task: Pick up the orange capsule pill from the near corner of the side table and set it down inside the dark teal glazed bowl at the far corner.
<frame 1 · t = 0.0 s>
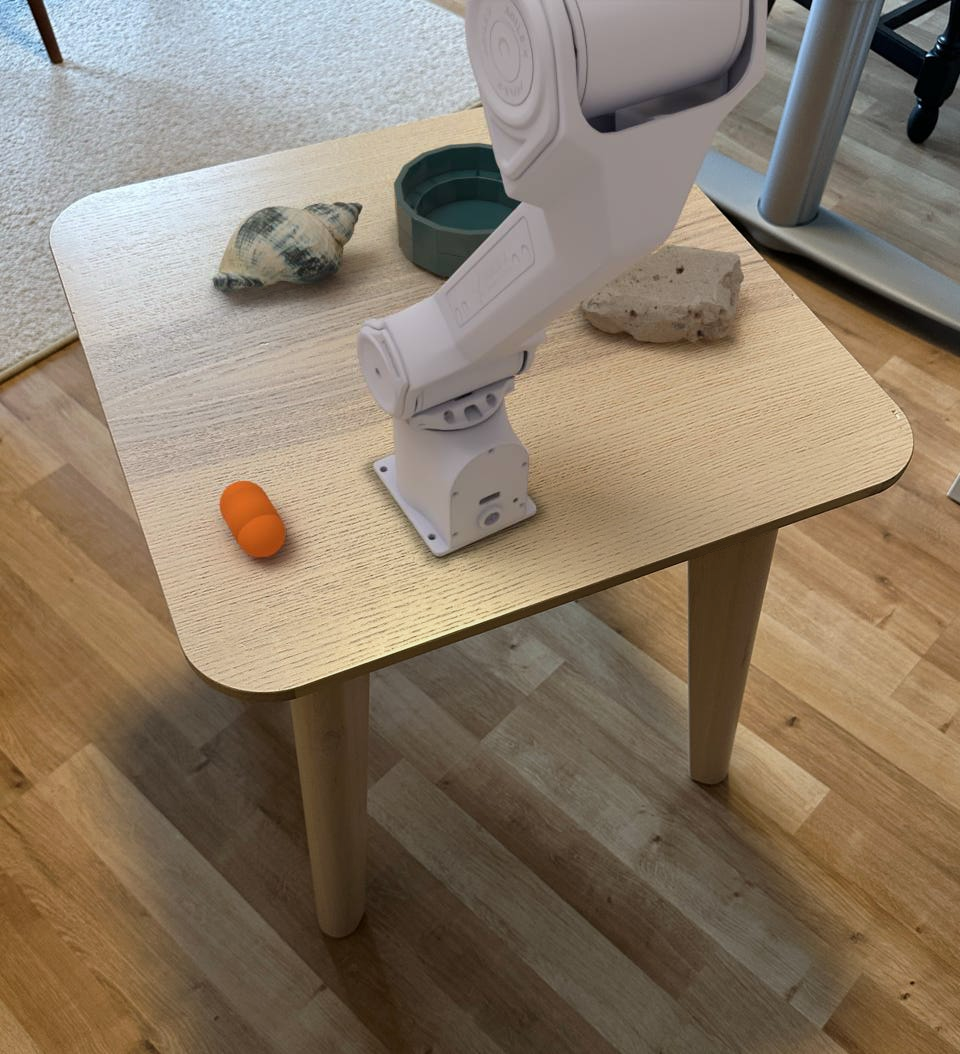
orange capsule pill: (255, 533, 72), on the table
bowl: (473, 237, 94), on the table
stone: (657, 313, 88), on the table
seashell: (292, 279, 90), on the table
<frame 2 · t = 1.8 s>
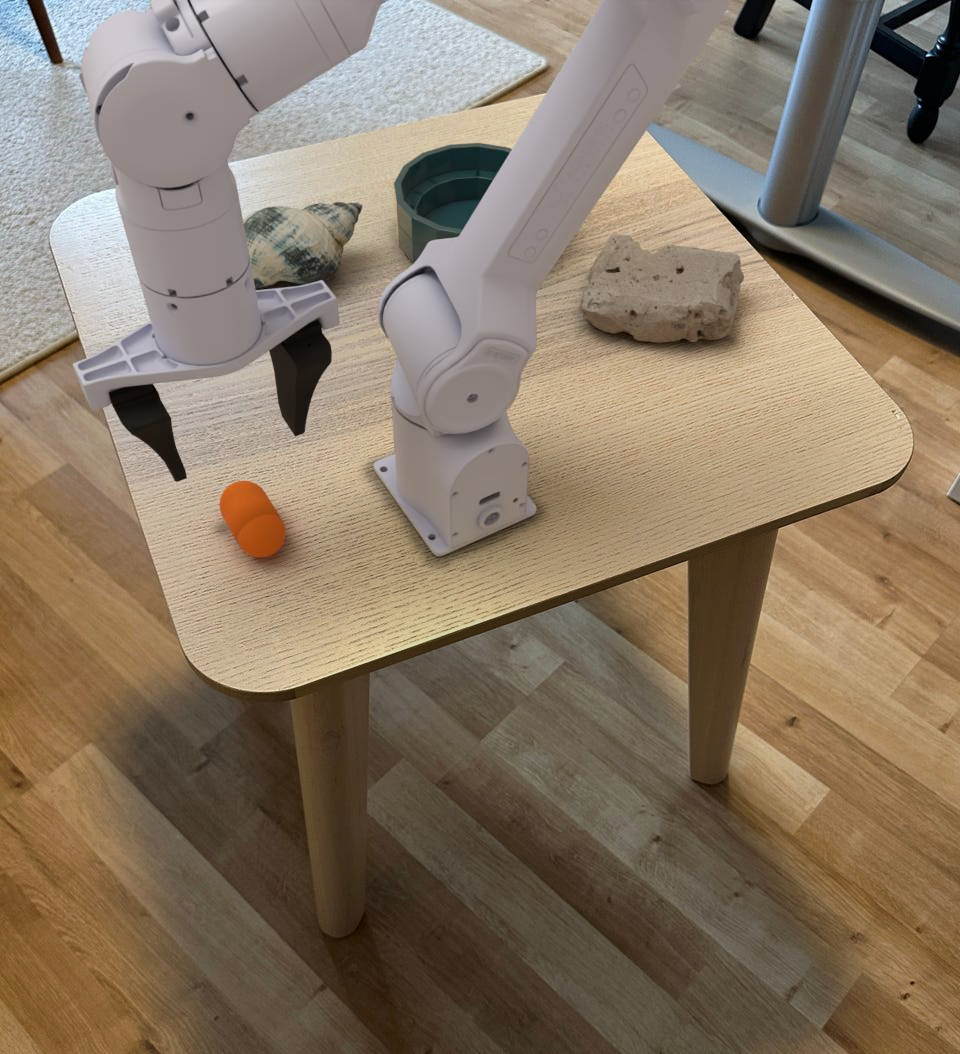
hand: (235, 446, 66), 8 cm above the table, tool pointing down, fingers open, 7 cm apart
nothing on the table moved.
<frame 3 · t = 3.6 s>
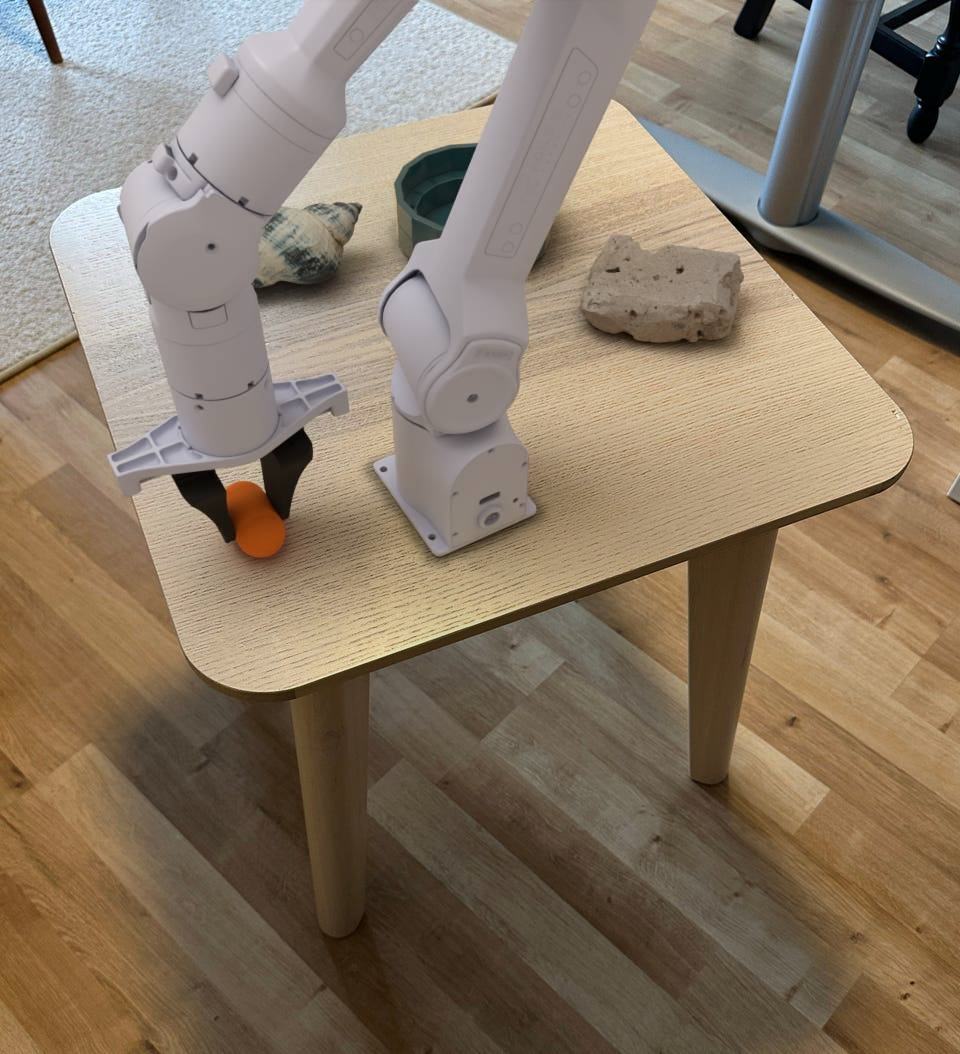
hand: (253, 520, 71), 1 cm above the table, tool pointing down, fingers closed on orange capsule pill, 3 cm apart
orange capsule pill: (255, 534, 72), on the table, touching gripper
everything else where it was.
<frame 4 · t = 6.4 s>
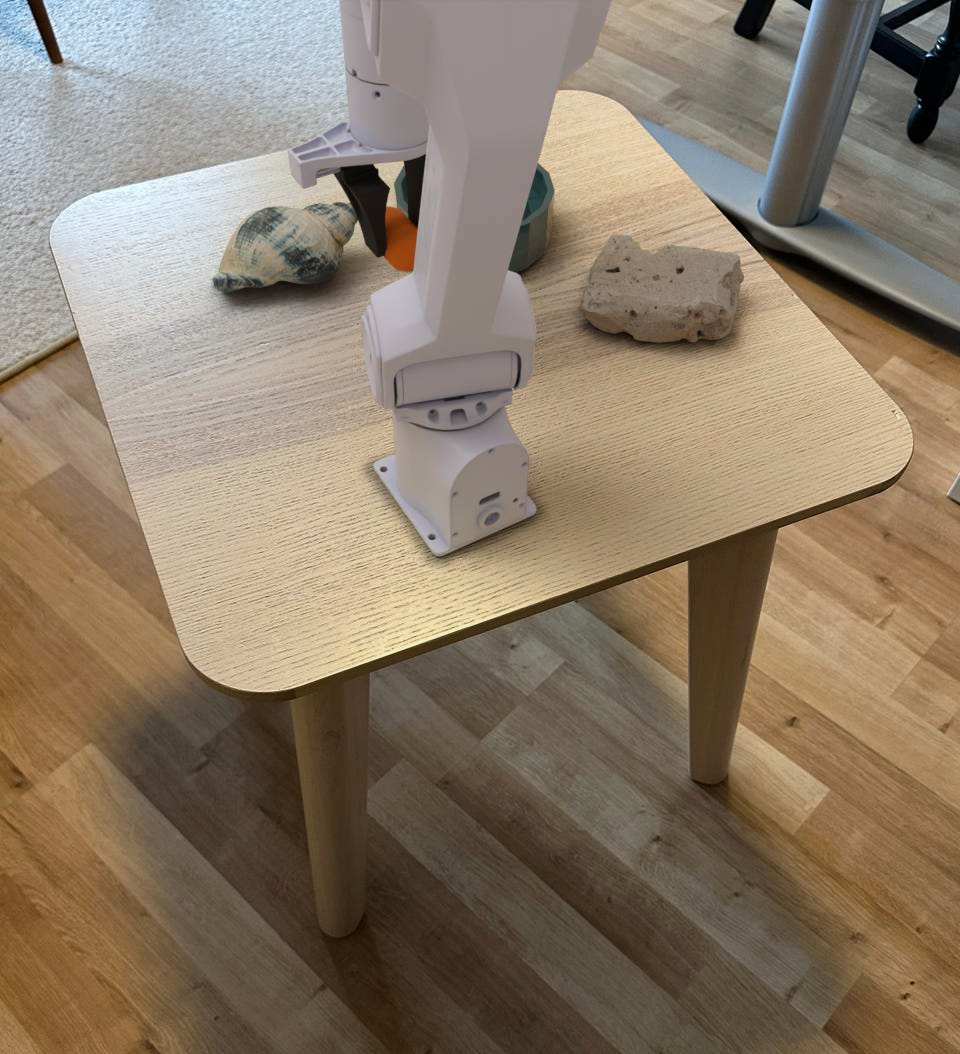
hand: (398, 241, 79), 8 cm above the table, tool pointing down, fingers closed on orange capsule pill, 3 cm apart
orange capsule pill: (398, 257, 80), point 7 cm above the table, touching gripper
everything else where it was.
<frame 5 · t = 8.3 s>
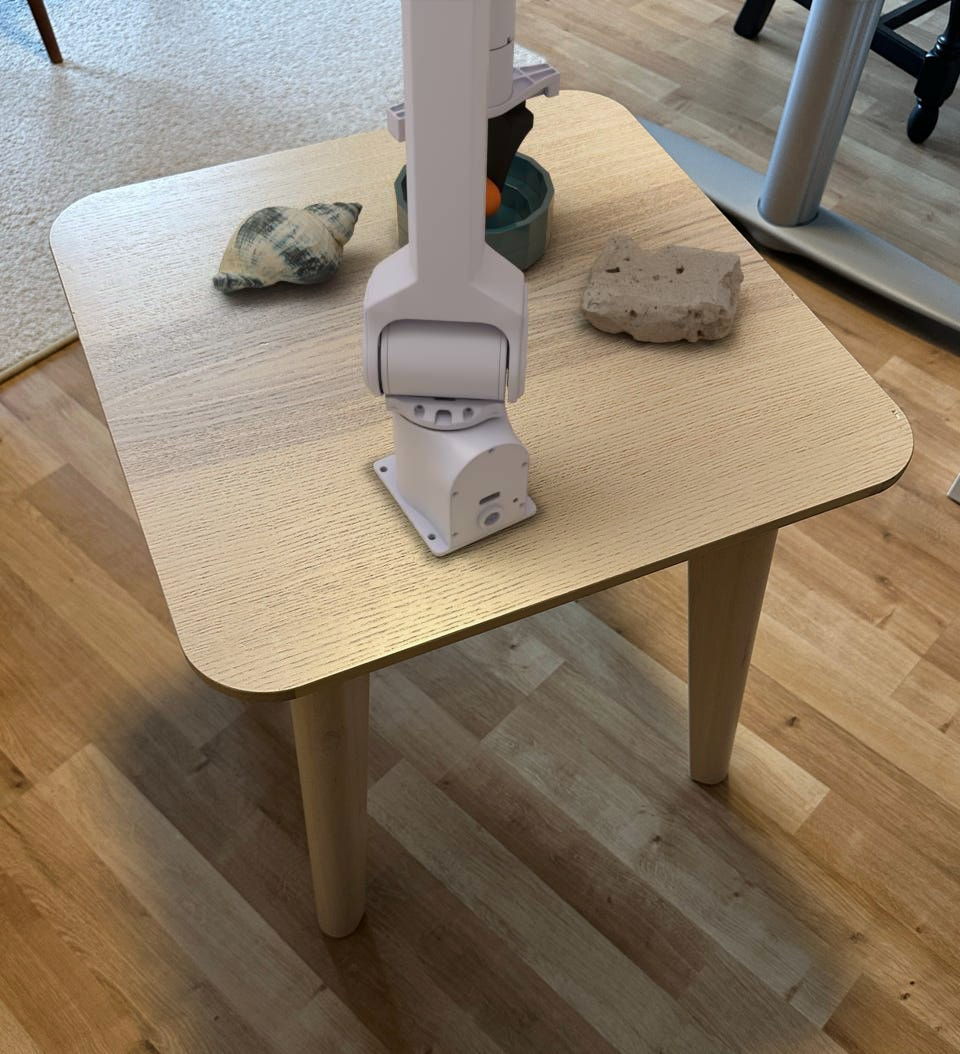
hand: (474, 193, 90), 4 cm above the table, tool pointing down, fingers closed on orange capsule pill, 3 cm apart
orange capsule pill: (472, 207, 92), point 3 cm above the table, touching gripper
everything else where it was.
when the fingers open (2 cm above the table, at t = 9.4 s): orange capsule pill stays where it is, resting on bowl.
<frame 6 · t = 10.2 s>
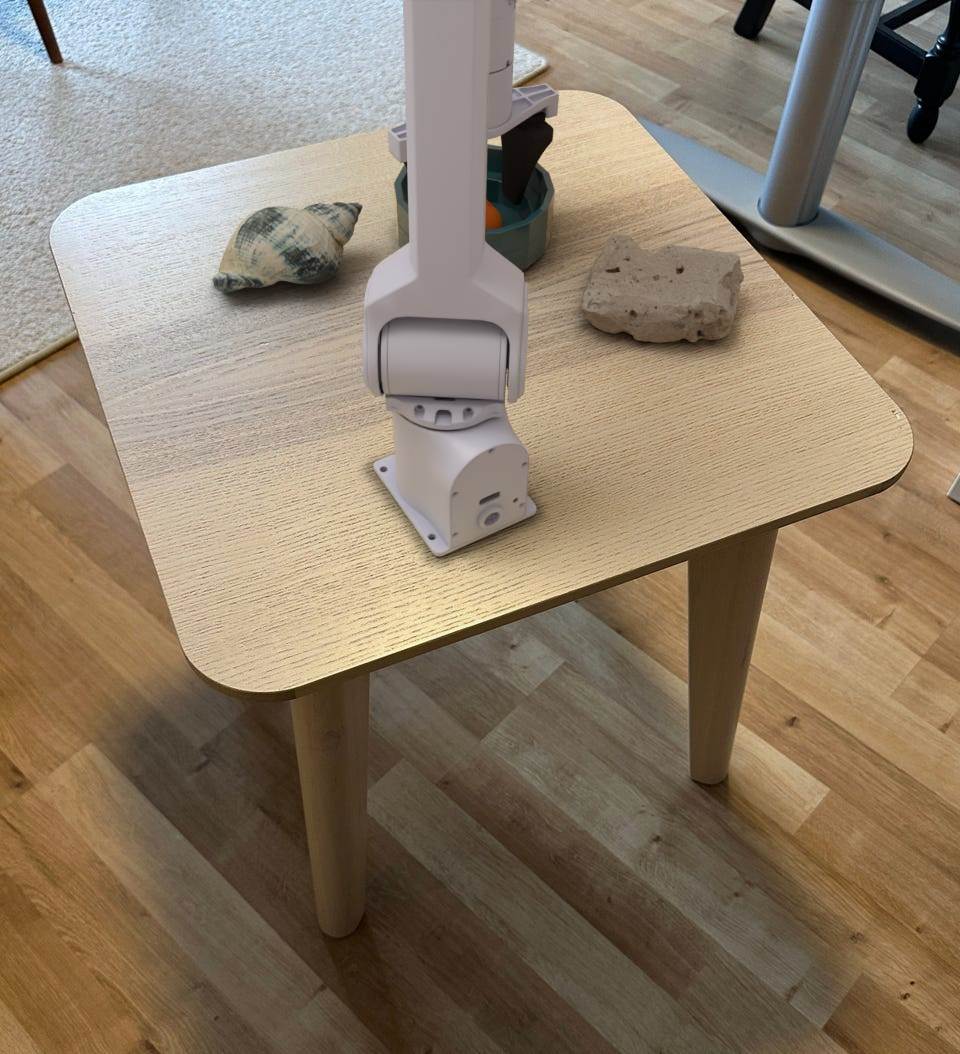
hand: (473, 211, 92), 3 cm above the table, tool pointing down, fingers open, 7 cm apart
orange capsule pill: (472, 231, 93), point 1 cm above the table, tilted 8°, touching bowl
everything else where it was.
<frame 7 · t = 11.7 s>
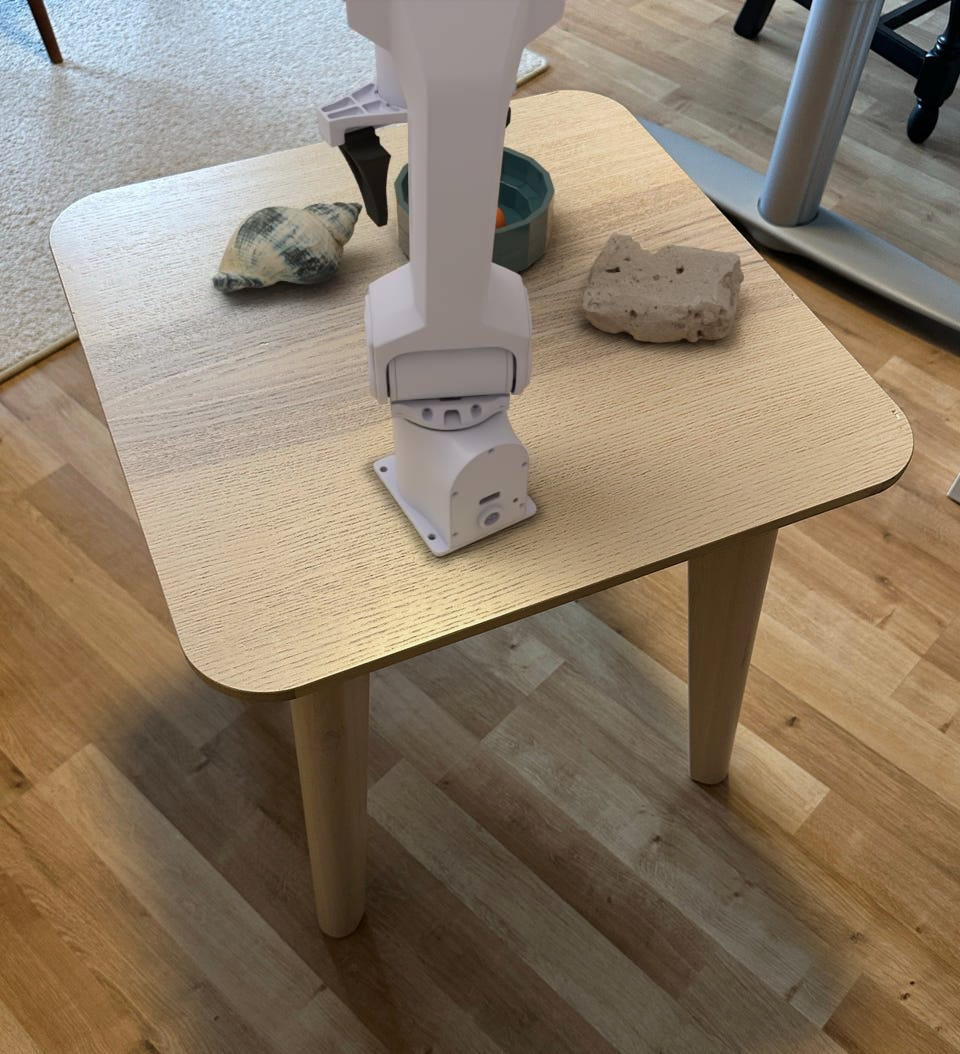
hand: (422, 204, 81), 9 cm above the table, tool pointing down, fingers open, 7 cm apart
orange capsule pill: (472, 230, 93), point 1 cm above the table, tilted 18°, touching bowl
everything else where it was.
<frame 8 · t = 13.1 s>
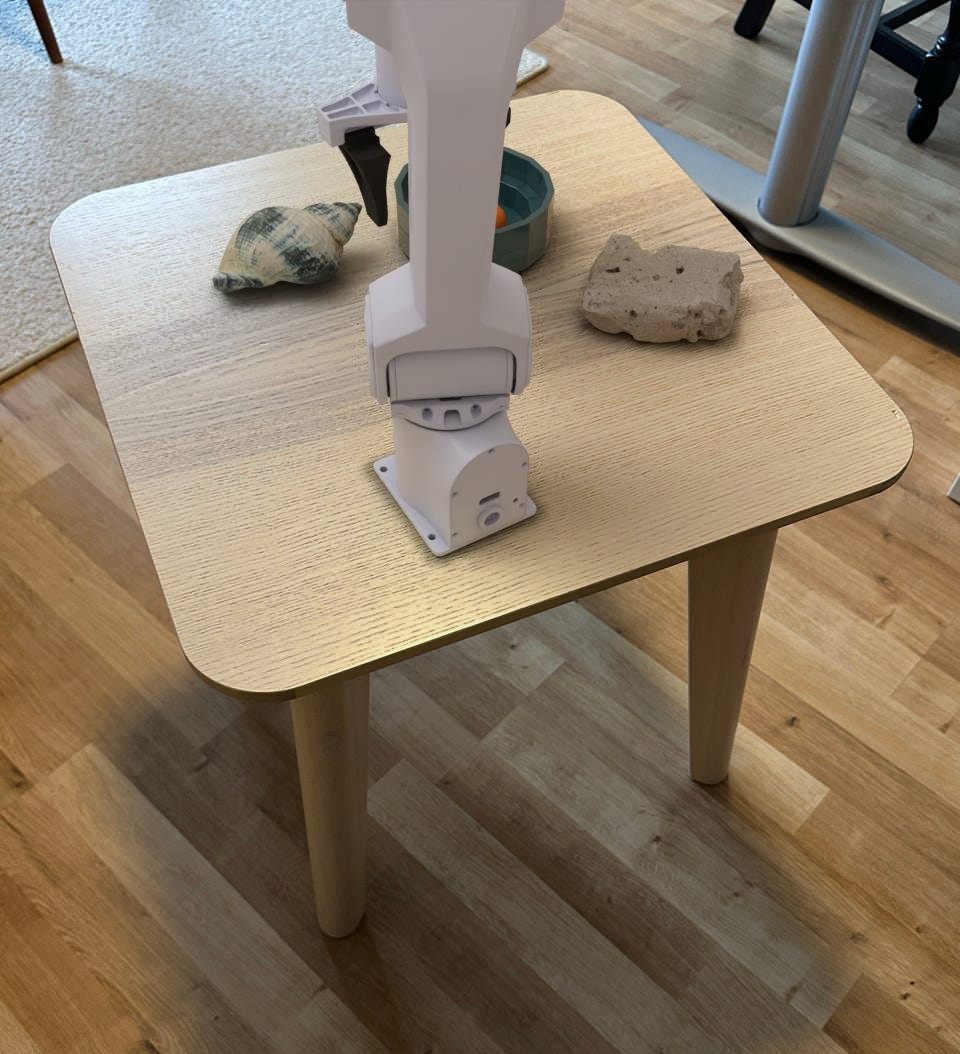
hand: (422, 204, 81), 9 cm above the table, tool pointing down, fingers open, 7 cm apart
orange capsule pill: (472, 230, 93), point 1 cm above the table, tilted 23°, touching bowl
everything else where it was.
at the end: orange capsule pill inside the target area in the bowl (0.1 cm from its centre), point 0.6 cm above the bowl's base; the gripper is holding nothing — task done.
